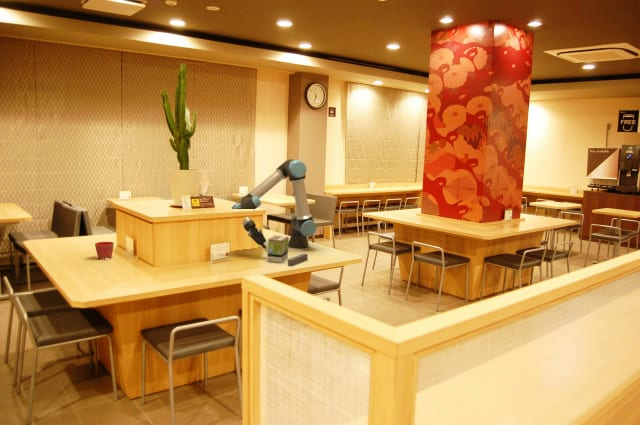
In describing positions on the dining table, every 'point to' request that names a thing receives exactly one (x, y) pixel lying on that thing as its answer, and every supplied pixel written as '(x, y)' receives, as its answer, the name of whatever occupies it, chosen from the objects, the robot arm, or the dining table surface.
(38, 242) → the dining table surface
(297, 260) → the rail
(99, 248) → the flower pot
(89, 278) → the dining table surface
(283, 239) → the tea box
